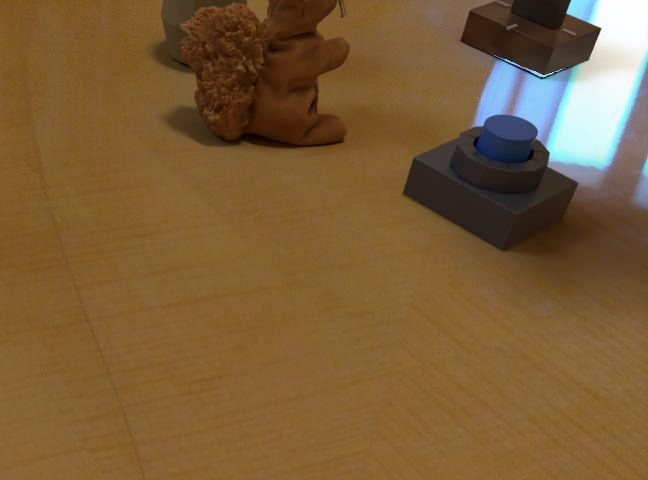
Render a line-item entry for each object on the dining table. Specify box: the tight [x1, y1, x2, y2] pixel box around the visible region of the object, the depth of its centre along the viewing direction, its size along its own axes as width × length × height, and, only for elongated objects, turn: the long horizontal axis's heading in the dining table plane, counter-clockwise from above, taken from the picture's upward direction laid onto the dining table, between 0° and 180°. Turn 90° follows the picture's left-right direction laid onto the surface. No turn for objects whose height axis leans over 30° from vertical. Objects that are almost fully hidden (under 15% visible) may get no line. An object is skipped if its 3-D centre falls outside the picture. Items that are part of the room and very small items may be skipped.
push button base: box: [402, 125, 579, 252], centre depth 79 cm, size 10×8×5 cm
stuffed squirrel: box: [179, 0, 351, 146], centre depth 83 cm, size 10×14×13 cm
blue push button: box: [476, 114, 539, 163], centre depth 76 cm, size 4×4×2 cm
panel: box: [460, 0, 602, 75], centre depth 99 cm, size 10×9×3 cm
